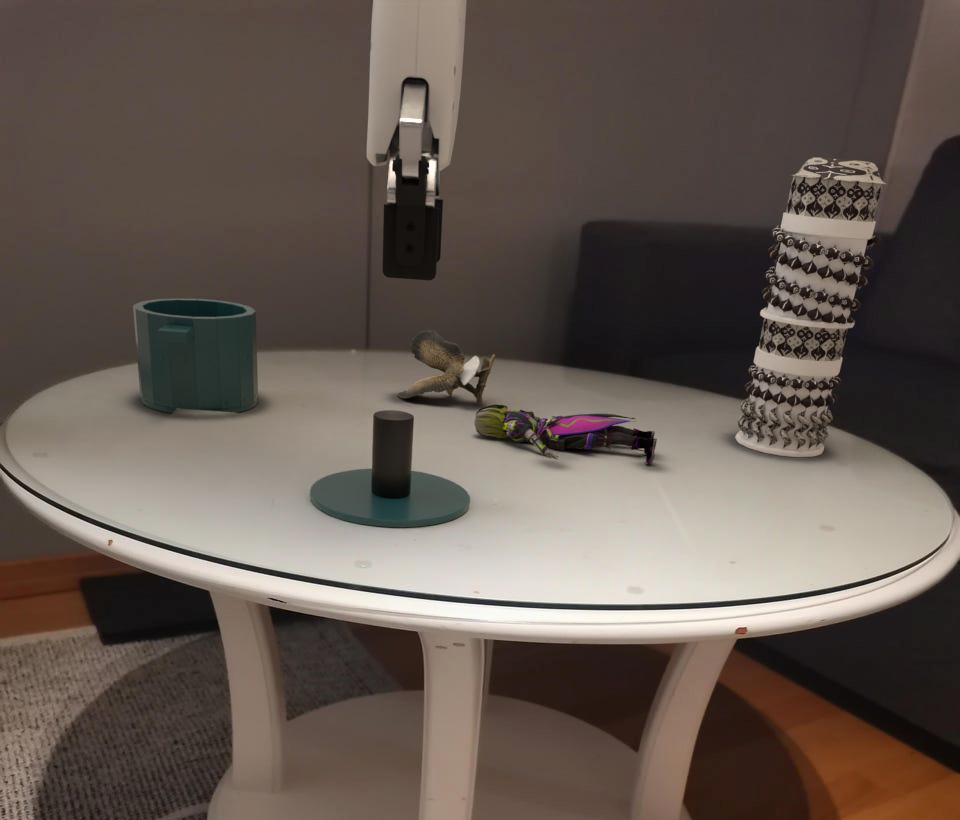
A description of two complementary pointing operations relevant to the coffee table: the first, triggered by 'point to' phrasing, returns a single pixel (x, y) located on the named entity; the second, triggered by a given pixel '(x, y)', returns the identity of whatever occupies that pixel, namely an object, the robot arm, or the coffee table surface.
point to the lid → (390, 484)
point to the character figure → (563, 430)
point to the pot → (196, 354)
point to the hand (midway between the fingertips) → (413, 269)
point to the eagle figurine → (446, 367)
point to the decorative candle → (810, 305)
